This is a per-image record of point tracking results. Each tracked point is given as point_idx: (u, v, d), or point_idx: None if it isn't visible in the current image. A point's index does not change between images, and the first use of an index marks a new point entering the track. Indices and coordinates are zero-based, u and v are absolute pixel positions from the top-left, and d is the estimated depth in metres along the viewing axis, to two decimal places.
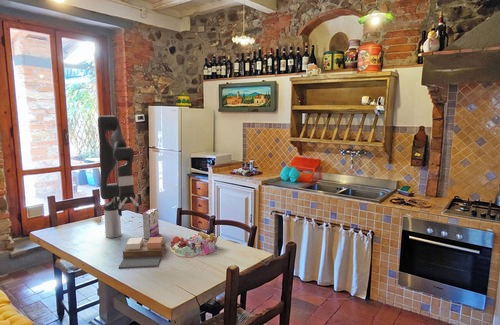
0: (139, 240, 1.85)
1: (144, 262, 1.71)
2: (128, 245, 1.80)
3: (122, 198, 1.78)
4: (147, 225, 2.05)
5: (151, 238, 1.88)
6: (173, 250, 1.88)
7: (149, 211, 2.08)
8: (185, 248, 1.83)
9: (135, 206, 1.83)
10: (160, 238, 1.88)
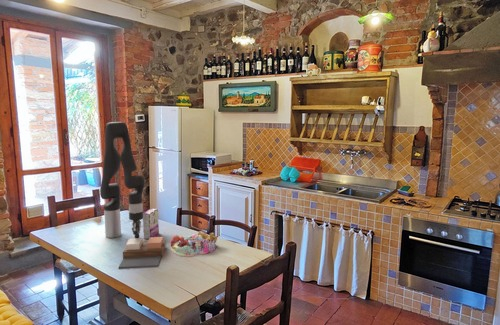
0: (139, 240, 1.84)
1: (144, 262, 1.71)
2: (128, 245, 1.79)
3: (137, 226, 1.87)
4: (147, 225, 2.05)
5: (151, 238, 1.88)
6: (173, 249, 1.89)
7: (149, 211, 2.08)
8: (185, 247, 1.84)
9: None
10: (160, 238, 1.88)
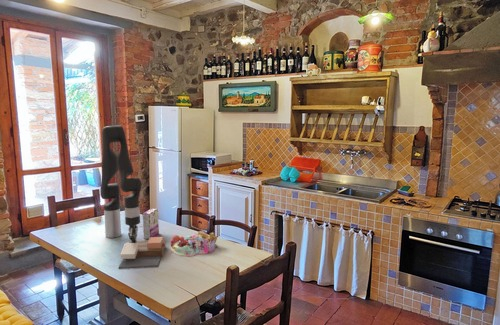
0: (134, 248, 1.75)
1: (144, 262, 1.71)
2: (122, 255, 1.71)
3: (134, 231, 1.78)
4: (147, 225, 2.05)
5: (151, 238, 1.88)
6: (173, 249, 1.89)
7: (149, 211, 2.08)
8: (185, 247, 1.84)
9: None
10: (160, 238, 1.88)
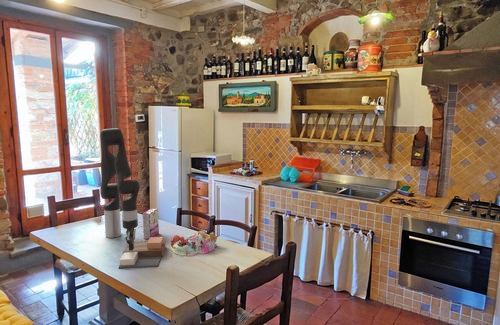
0: (134, 255, 1.73)
1: (144, 262, 1.71)
2: (122, 261, 1.68)
3: (131, 234, 1.73)
4: (147, 225, 2.05)
5: (151, 238, 1.88)
6: (173, 249, 1.89)
7: (149, 211, 2.08)
8: (185, 247, 1.84)
9: None
10: (160, 238, 1.88)
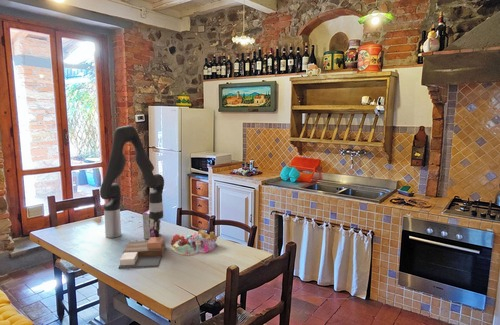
0: (134, 255, 1.73)
1: (144, 262, 1.71)
2: (122, 261, 1.68)
3: (158, 225, 1.88)
4: (147, 225, 2.05)
5: (151, 238, 1.88)
6: (173, 248, 1.90)
7: None
8: (185, 246, 1.85)
9: None
10: (160, 238, 1.88)
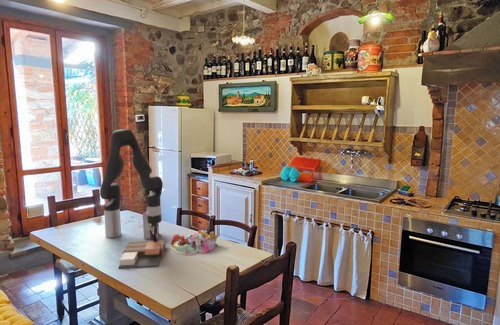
0: (134, 255, 1.73)
1: (144, 262, 1.71)
2: (122, 261, 1.68)
3: (156, 229, 1.81)
4: (147, 225, 2.05)
5: (149, 243, 1.80)
6: (173, 248, 1.90)
7: None
8: (185, 246, 1.86)
9: None
10: (158, 243, 1.80)
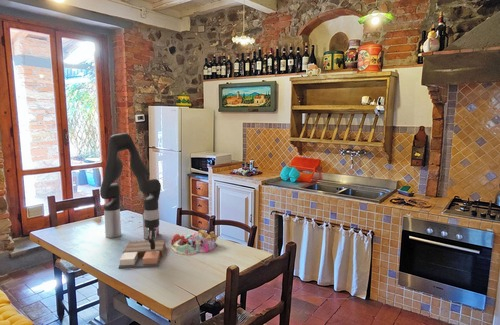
0: (134, 255, 1.73)
1: None
2: (122, 261, 1.68)
3: (153, 233, 1.74)
4: None
5: (148, 252, 1.76)
6: (174, 248, 1.91)
7: None
8: (185, 246, 1.86)
9: None
10: (157, 252, 1.76)
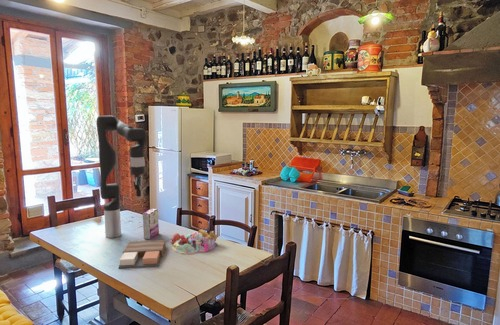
0: (134, 255, 1.73)
1: None
2: (122, 261, 1.68)
3: (139, 180, 1.82)
4: (147, 225, 2.05)
5: (148, 252, 1.76)
6: (174, 247, 1.92)
7: (149, 211, 2.08)
8: (185, 245, 1.87)
9: None
10: (157, 252, 1.76)
